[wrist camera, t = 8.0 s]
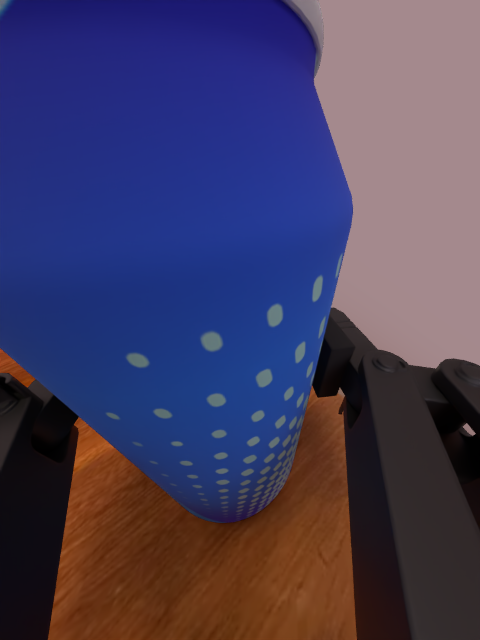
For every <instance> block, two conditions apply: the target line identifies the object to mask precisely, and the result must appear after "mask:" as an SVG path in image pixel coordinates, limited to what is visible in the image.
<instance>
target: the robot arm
mask: <svg viewBox="0 0 480 640" xmlns="http://www.w3.org/2000/svg"><path fill="white" fill-rule="evenodd" d="M312 386H313V388H314V390H315V393H316V395H317V397H318V398H319V397H328V396H336V395H337V393H338V390H339V388H341V390H342V391H343V393H344V395H345V397H344V399H343V402H342V404H341V406H340V408H339V413H338V414H342V412H344V429H345V446H346V463H347V480H348V497H349V514H350V531H351V548H352V565H353V582H354V599H355V616H356V633H357V640H480V366H479V365H477V364H474V363H471V362H468V361H465V360H459V359H446V360H444V361H443V362H441V363H440V364H439V366H438V367H437V368H436V369H435V368H427V367H420V366H413V365H408V363H407V362H405V361H404V360H403V359H402V358H400V357H399V356H397V355H395V354H393V353H390V352H387V351H383V350H378V349H377V348H376V347H375V346H374V345H373V344H372V343H371V342H370V341H369V340H368V338H367V337H366V336H365V335H364V334H363V333H362V332H361V331H360V330H359V329H358V328H357V327H356V326H355V325H354V324H353V322H351V321H350V319H349V318H348V317H347V316H346V315H345V314H344V313H343V312H341V311H339V310H337V309H336V308H331V309H330V314H329V318H328V322H327V326H326V330H325V334H324V338H323V342H322V346H321V350H320V354H319V358H318V362H317V367H316V371H315V375H314V379H313V383H312ZM78 417H79V416H78V415H77V414H76V413H74V412H73V411H72V410H71V409H70V408H69V407H67V406H66V405H65V404H64V403H63V402H62V401H61V400H59V399H58V398H57V397H56V396H55V395H54V394H53V393H51V392H50V391H49V390H48V389H47V388H46V387H44V386H43V385H42V384H41V383H40V382H39V381H38V380H36V379H35V380H34V381H33V382H32V383H31V385H30V386H29V387H28V388H27V387H25V386H24V385H23V384H22V383H20V382H19V381H18V380H17V379H15V378H14V377H13V376H12V375H10V374H9V373H0V640H48V634H49V628H50V621H51V614H52V608H53V601H54V594H55V588H56V581H57V574H58V568H59V561H60V554H61V548H62V541H63V534H64V528H65V521H66V514H67V508H68V501H69V494H70V488H71V481H72V474H73V468H74V461H75V454H76V448H77V441H78V434H79V432H78V428H77V427H76V426H74V424H75V422H76V420H77V419H78ZM466 423H467V424H468V425H469V426H470V427H471V428H472V430H473V431H474V432H475V433H476V434H475V435H473V436H472V435H470V434H469V433H467V431H466V430H465V429H464V428H463V427H462V426H464V425H465V424H466Z"/></svg>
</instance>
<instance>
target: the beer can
mask: <svg viewBox="0 0 480 640" xmlns="http://www.w3.org/2000/svg"><path fill="white" fill-rule="evenodd" d="M323 31H324V26H323V19H322V14H321V8H320V4H319V1H318V0H0V348H1V349H2V350H3V351H4V352H5V353H7V354H8V355H9V356H10V357H11V358H12V359H13V360H15V361H16V362H17V363H18V364H19V365H20V366H21V367H23V368H24V369H25V370H26V371H27V372H28V373H30V374H31V375H32V376H33V377H34V378H35V379H36V380H38V381H39V382H40V383H41V384H42V385H43V386H44V387H46V388H47V389H48V390H49V391H50V392H51V393H53V394H54V395H55V396H56V397H57V398H58V399H59V400H61V401H62V402H63V403H64V404H65V405H66V406H67V407H69V408H70V409H71V410H72V411H73V412H74V413H76V414H77V415H78V416H79V417H80V418H81V419H82V420H84V421H85V422H86V423H87V424H88V425H89V426H90V427H92V428H93V429H94V430H95V431H96V432H97V433H99V434H100V435H101V436H102V437H103V438H104V439H105V440H107V441H108V442H109V443H110V444H111V445H112V446H113V447H115V448H116V449H117V450H118V451H119V452H120V453H122V454H123V455H124V456H125V457H126V458H127V459H128V460H130V461H131V462H132V463H133V464H134V465H135V466H136V467H138V468H139V469H140V470H141V471H142V472H143V473H145V474H146V475H147V476H148V477H149V478H150V479H151V480H153V481H154V482H155V483H156V484H157V485H158V486H159V487H161V488H162V489H163V490H164V491H165V492H166V493H168V494H169V495H170V496H171V497H172V498H173V499H174V500H176V501H177V502H178V503H179V504H180V505H181V506H182V507H184V508H185V509H186V510H187V511H189V512H190V513H191V514H193V515H195V516H197V517H199V518H201V519H204V520H207V521H211V522H218V523H228V522H235V521H240V520H243V519H246V518H248V517H251V516H252V515H254V514H256V513H258V512H259V511H261V510H262V509H264V508H265V507H266V506H267V505H268V504H269V503H270V502H272V500H273V499H274V498H275V497H276V496H277V495H278V493H279V492H280V490H281V489H282V488H283V486H284V484H285V482H286V480H287V478H288V476H289V473H290V471H291V468H292V464H293V460H294V456H295V452H296V448H297V444H298V440H299V436H300V432H301V428H302V424H303V420H304V415H305V411H306V407H307V403H308V399H309V395H310V391H311V387H312V383H313V379H314V375H315V371H316V367H317V362H318V358H319V354H320V350H321V346H322V342H323V338H324V334H325V330H326V326H327V322H328V318H329V314H330V309H331V305H332V301H333V297H334V293H335V289H336V285H337V281H338V277H339V273H340V269H341V265H342V260H343V256H344V252H345V248H346V244H347V240H348V236H349V232H350V228H351V222H352V215H353V205H352V196H351V193H350V190H349V187H348V184H347V181H346V178H345V175H344V172H343V169H342V166H341V163H340V160H339V157H338V155H337V151H336V148H335V145H334V143H333V139H332V137H331V133H330V130H329V128H328V124H327V122H326V119H325V116H324V113H323V110H322V107H321V104H320V101H319V98H318V95H317V92H316V89H315V86H314V78H315V76H316V73H317V71H318V69H319V66H320V62H321V56H322V49H323V39H324V34H323V33H324V32H323Z"/></svg>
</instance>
